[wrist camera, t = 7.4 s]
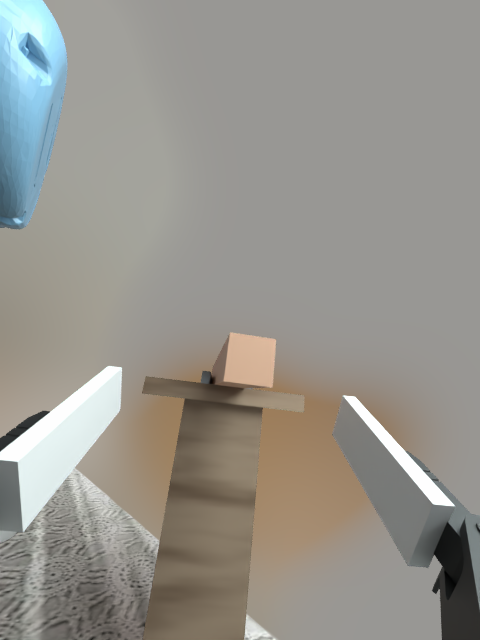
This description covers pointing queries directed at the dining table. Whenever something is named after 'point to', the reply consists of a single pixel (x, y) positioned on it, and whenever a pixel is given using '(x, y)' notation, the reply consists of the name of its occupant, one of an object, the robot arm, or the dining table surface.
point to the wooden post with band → (209, 510)
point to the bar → (245, 362)
